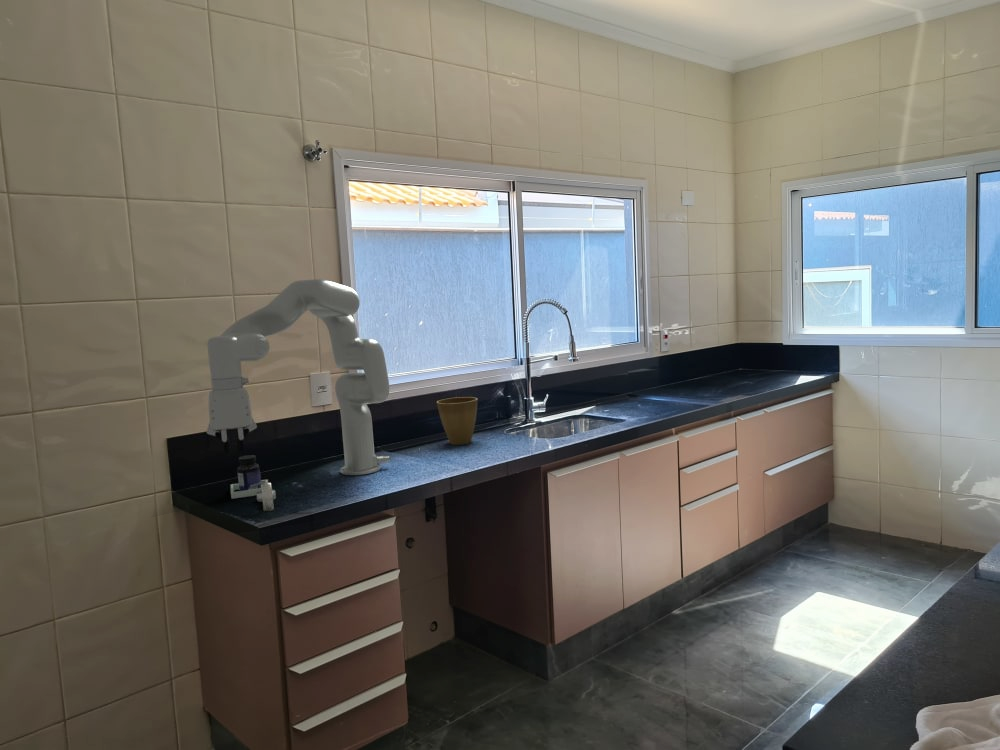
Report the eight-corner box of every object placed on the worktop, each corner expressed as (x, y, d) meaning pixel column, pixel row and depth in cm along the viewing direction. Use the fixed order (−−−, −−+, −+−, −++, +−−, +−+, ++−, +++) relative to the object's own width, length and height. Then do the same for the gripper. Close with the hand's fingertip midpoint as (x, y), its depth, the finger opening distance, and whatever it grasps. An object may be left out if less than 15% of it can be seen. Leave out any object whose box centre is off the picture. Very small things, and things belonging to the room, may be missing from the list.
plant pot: (483, 438, 280) (480, 395, 278) (476, 446, 266) (473, 402, 264) (444, 439, 283) (441, 397, 281) (435, 448, 268) (432, 403, 266)
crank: (256, 498, 209) (254, 473, 208) (275, 495, 211) (273, 471, 210) (259, 512, 195) (256, 486, 194) (278, 509, 197) (276, 483, 196)
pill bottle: (264, 490, 221) (260, 453, 219) (258, 496, 215) (255, 458, 213) (243, 492, 220) (239, 455, 219) (237, 497, 214) (233, 460, 213)
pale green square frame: (268, 489, 224) (267, 479, 223) (270, 497, 214) (269, 487, 214) (231, 494, 220) (230, 484, 220) (231, 503, 211) (230, 493, 210)
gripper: (259, 380, 197) (266, 448, 199) (194, 386, 192) (202, 456, 194) (260, 382, 190) (267, 454, 192) (193, 389, 185) (201, 462, 187)
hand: (234, 454), depth 193 cm, fingers closed
